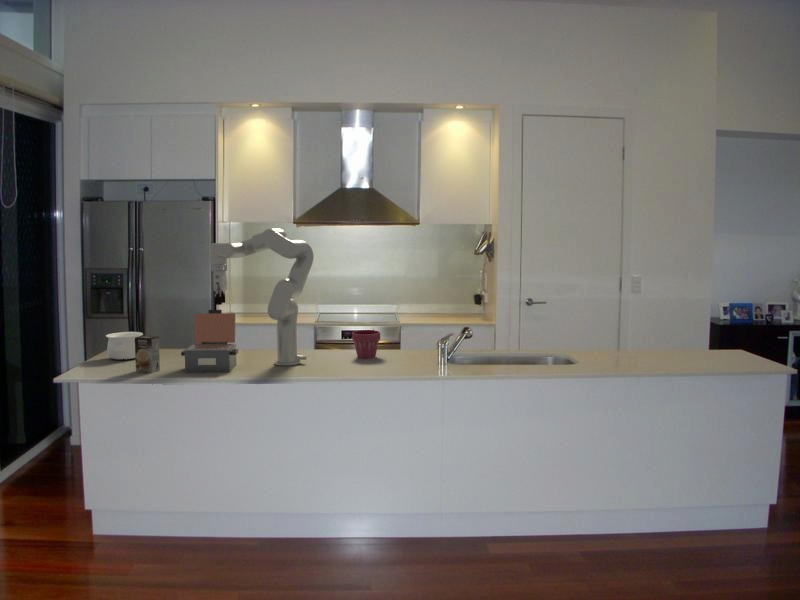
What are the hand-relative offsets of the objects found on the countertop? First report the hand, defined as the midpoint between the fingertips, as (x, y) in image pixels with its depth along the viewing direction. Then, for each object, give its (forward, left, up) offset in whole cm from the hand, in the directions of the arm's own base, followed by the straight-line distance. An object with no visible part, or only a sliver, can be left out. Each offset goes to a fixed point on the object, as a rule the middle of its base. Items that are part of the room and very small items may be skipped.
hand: (220, 303), depth 346 cm
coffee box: (+28, +27, -28) cm, 48 cm away
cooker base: (0, +23, -28) cm, 36 cm away
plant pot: (-72, -1, -28) cm, 77 cm away
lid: (0, +14, -10) cm, 17 cm away
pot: (+49, -6, -28) cm, 57 cm away
